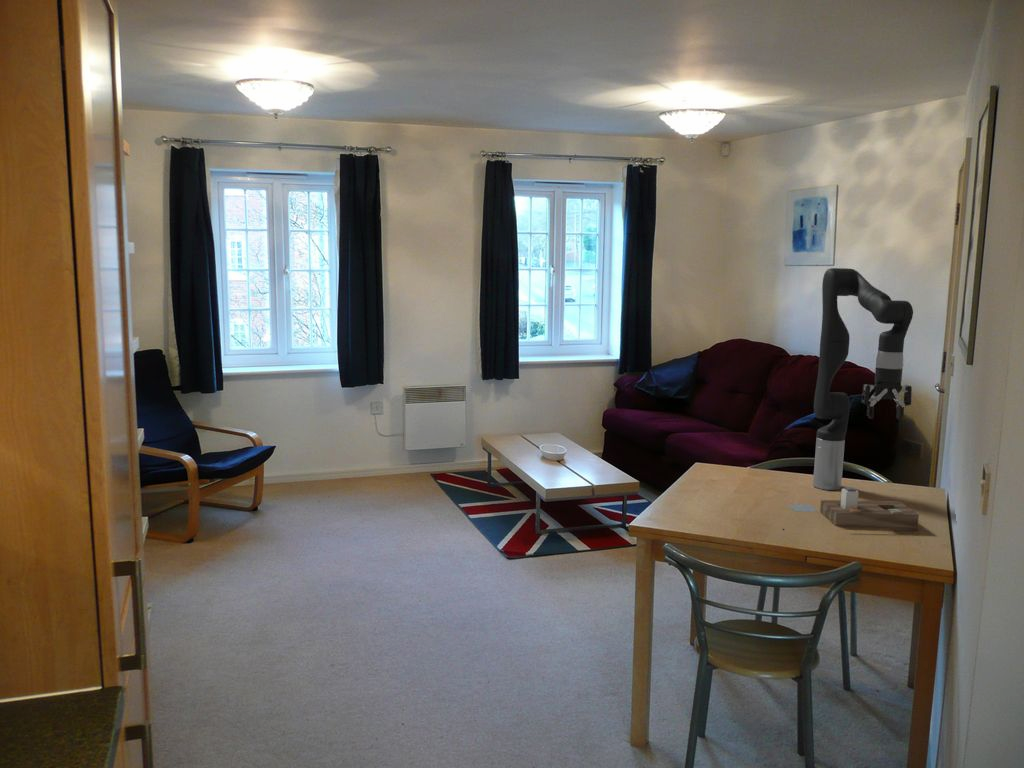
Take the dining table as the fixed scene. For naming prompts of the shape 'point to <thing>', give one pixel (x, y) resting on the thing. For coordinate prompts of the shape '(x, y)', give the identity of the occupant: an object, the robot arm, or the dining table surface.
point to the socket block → (871, 514)
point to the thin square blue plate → (803, 508)
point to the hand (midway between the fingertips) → (884, 418)
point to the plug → (849, 498)
